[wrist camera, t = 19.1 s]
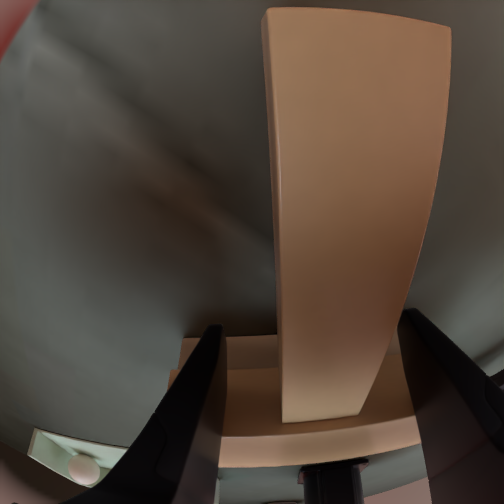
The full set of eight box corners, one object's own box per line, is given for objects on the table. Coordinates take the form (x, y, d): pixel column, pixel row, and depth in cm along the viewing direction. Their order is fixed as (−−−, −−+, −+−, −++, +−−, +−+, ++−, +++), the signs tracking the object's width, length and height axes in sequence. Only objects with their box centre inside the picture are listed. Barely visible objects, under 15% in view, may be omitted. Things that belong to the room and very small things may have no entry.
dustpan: (34, 427, 23) (27, 454, 20) (198, 454, 22) (196, 490, 19) (113, 480, 34) (111, 499, 32) (230, 493, 34) (230, 513, 31)
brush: (402, 367, 14) (423, 442, 11) (197, 385, 14) (189, 466, 11) (487, 51, 6) (604, 93, 2) (98, 52, 6) (-20, 85, 3)
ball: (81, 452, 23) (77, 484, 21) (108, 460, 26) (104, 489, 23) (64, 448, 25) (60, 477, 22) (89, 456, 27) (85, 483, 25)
